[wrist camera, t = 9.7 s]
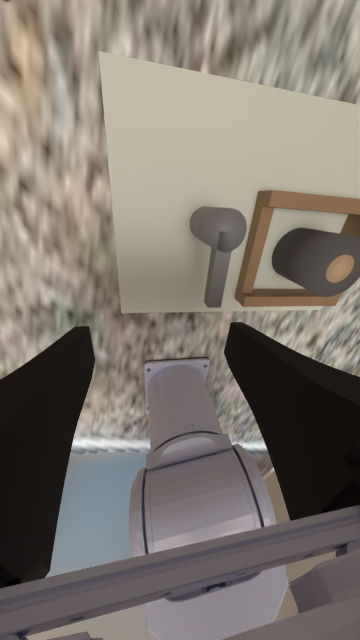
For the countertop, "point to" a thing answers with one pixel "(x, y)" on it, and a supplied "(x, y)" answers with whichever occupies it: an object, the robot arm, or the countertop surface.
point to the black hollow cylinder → (318, 260)
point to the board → (220, 185)
